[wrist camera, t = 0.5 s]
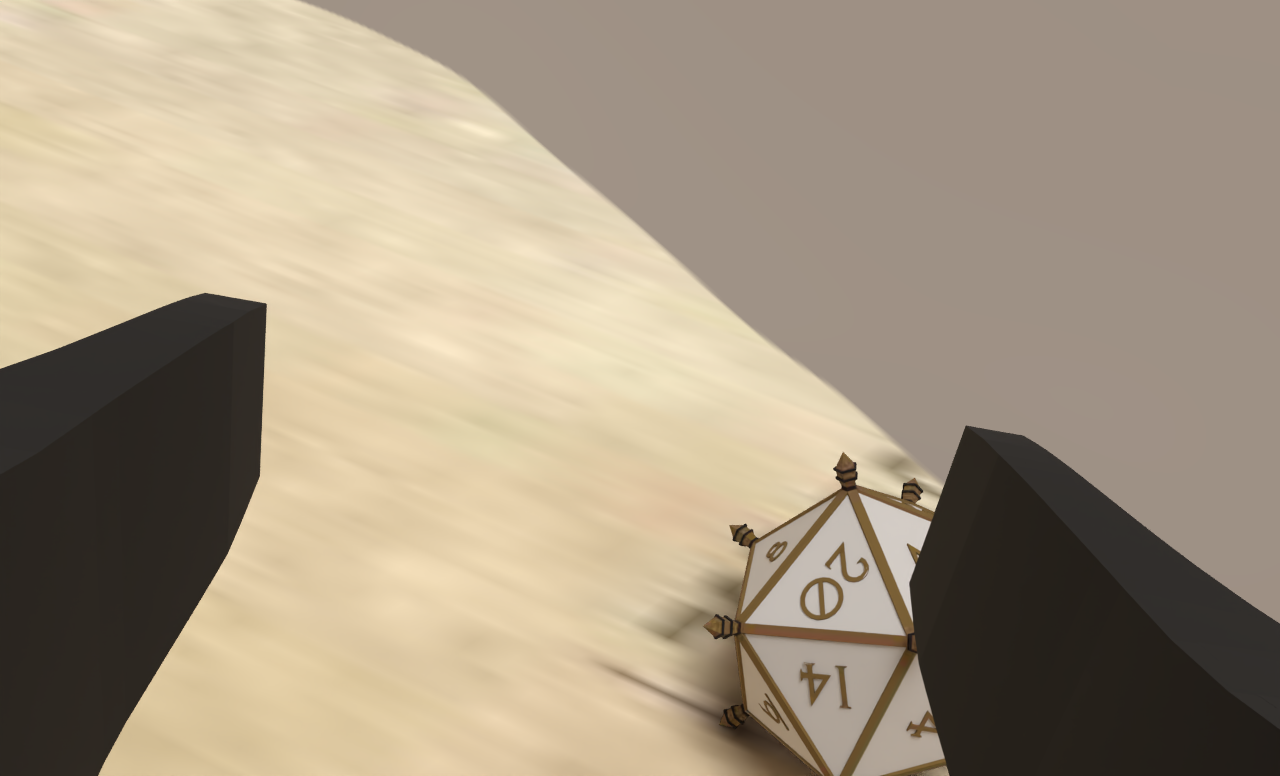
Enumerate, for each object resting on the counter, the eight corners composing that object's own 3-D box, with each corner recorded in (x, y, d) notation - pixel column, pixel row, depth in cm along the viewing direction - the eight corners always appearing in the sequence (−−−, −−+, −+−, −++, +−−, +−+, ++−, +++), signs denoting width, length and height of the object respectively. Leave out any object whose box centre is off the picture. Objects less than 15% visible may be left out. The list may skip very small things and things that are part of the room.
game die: (793, 845, 34) (862, 950, 24) (632, 587, 35) (634, 585, 25) (1050, 671, 35) (1220, 703, 25) (885, 425, 36) (984, 361, 26)
